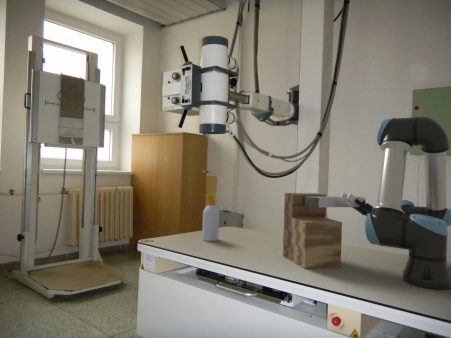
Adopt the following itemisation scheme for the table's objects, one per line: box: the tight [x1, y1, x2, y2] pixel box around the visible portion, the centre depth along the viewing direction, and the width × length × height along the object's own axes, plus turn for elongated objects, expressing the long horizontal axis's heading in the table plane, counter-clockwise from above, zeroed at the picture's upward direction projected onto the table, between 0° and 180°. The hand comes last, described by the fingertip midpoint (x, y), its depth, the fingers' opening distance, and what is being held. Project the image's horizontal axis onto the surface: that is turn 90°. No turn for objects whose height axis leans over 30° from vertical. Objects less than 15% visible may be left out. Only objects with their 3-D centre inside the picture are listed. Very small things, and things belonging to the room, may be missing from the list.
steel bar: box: [303, 196, 367, 208], centre depth 143 cm, size 8×26×4 cm, turn 105°
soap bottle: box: [201, 193, 220, 242], centre depth 183 cm, size 9×9×24 cm
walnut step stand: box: [282, 192, 343, 270], centre depth 145 cm, size 20×16×28 cm
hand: (345, 195), depth 144 cm, fingers closed on steel bar, 4 cm apart
